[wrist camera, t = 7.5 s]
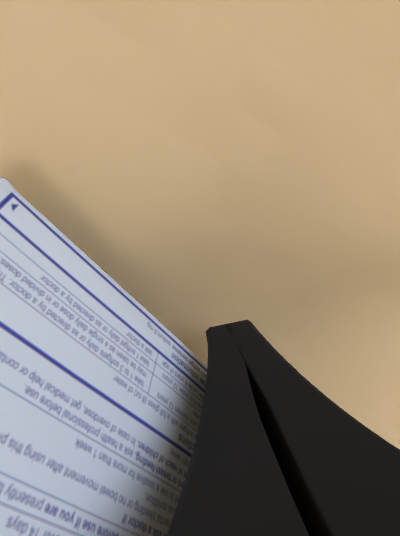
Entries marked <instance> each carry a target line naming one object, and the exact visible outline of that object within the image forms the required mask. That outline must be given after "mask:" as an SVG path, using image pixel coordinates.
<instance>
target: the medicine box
mask: <svg viewBox="0 0 400 536" xmlns="http://www.w3.org/2000/svg"><path fill="white" fill-rule="evenodd" d="M207 367H208V366H207V365H206V364H205V363H204V362H203V361H202V360H201V359H200V358H199V357H198V356H197V355H195V354H194V353H193V352H192V351H191V350H190V349H189V348H188V347H187V346H185V345H184V344H183V343H182V342H181V341H180V340H179V339H178V338H177V337H176V336H175V335H174V334H172V333H171V332H170V331H169V330H168V329H167V328H166V327H165V326H164V325H163V324H162V323H160V322H159V321H158V320H157V319H156V318H155V317H154V316H153V315H152V314H151V313H150V312H148V311H147V310H146V309H145V308H144V307H143V306H142V305H141V304H140V303H139V302H137V301H136V300H135V299H134V298H133V297H132V296H131V295H130V294H129V293H128V292H126V291H125V290H124V289H123V288H122V287H121V286H120V285H119V284H118V283H117V282H116V281H114V280H113V279H112V278H111V277H110V276H109V275H108V274H107V273H106V272H105V271H103V270H102V269H101V268H100V267H99V266H98V265H97V264H96V263H95V262H94V261H93V260H91V259H90V258H89V257H88V256H87V255H86V254H85V253H84V252H83V251H82V250H81V249H79V248H78V247H77V246H76V245H75V244H74V243H73V242H72V241H71V240H70V239H69V238H67V237H66V236H65V235H64V234H63V233H62V232H61V231H60V230H59V229H58V228H56V227H55V226H54V225H53V224H52V223H51V222H50V221H49V220H48V219H47V218H45V217H44V216H43V215H42V214H41V213H40V212H39V211H38V210H37V209H35V208H34V207H33V206H32V205H31V204H30V203H29V202H28V201H27V200H26V199H25V198H24V197H22V196H21V195H20V194H19V193H18V192H17V191H16V189H15V188H14V187H13V186H12V184H11V183H10V182H8V181H7V180H6V179H4V178H0V536H166V535H167V532H168V530H169V527H170V524H171V521H172V519H173V516H174V513H175V510H176V507H177V504H178V501H179V498H180V494H181V491H182V488H183V484H184V481H185V478H186V474H187V471H188V468H189V464H190V460H191V456H192V453H193V449H194V445H195V441H196V436H197V432H198V427H199V423H200V417H201V411H202V406H203V400H204V394H205V387H206V377H207Z"/></svg>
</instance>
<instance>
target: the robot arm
mask: <svg viewBox="0 0 400 536" xmlns="http://www.w3.org/2000/svg"><path fill="white" fill-rule="evenodd" d="M206 336H207V342H208V367H207V377H206V387H205V394H204V400H203V406H202V411H201V417H200V423H199V427H198V432H197V436H196V441H195V445H194V449H193V453H192V456H191V460H190V464H189V468H188V471H187V474H186V478H185V481H184V484H183V488H182V491H181V494H180V498H179V501H178V504H177V507H176V510H175V513H174V516H173V519H172V521H171V524H170V527H169V530H168V532H167V535H166V536H400V450H399V449H398V448H396V447H395V446H393V445H391V444H390V443H388V442H387V441H385V440H384V439H383V438H381V437H380V436H378V435H377V434H375V433H374V432H373V431H371V430H370V429H368V428H367V427H365V426H364V425H363V424H361V423H360V422H359V421H357V420H356V419H355V418H353V417H352V416H350V415H349V414H348V413H346V412H345V411H344V410H343V409H341V408H340V407H339V406H337V405H336V404H335V403H334V402H333V401H331V400H330V399H329V398H328V397H326V396H325V395H324V394H323V393H322V392H320V391H319V390H318V389H317V388H316V387H315V386H313V385H312V384H311V383H310V382H309V381H308V380H307V379H306V378H304V377H303V376H302V375H301V374H300V373H299V372H298V371H297V370H296V369H295V368H294V367H293V366H292V365H291V364H290V363H288V362H287V361H286V360H285V359H284V358H283V357H282V356H281V355H280V354H279V353H278V352H277V351H276V350H275V349H274V347H273V346H272V345H271V344H270V343H269V342H268V341H267V340H266V339H265V338H264V337H263V336H262V334H261V333H260V332H259V331H258V330H257V329H256V327H255V326H254V325H253V324H252V322H250V321H249V320H244V321H239V322H234V323H229V324H224V325H220V326H215V327H210V328H209V329H208V330H207V331H206Z"/></svg>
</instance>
